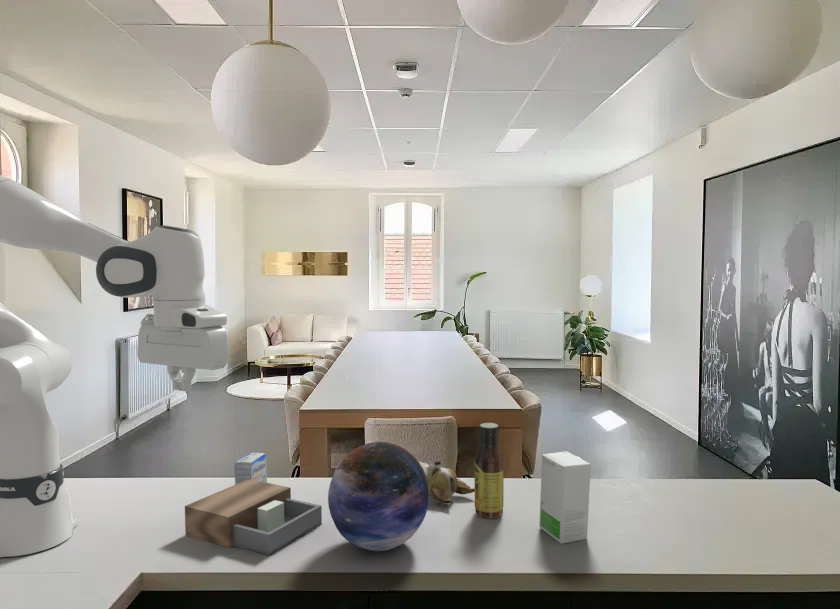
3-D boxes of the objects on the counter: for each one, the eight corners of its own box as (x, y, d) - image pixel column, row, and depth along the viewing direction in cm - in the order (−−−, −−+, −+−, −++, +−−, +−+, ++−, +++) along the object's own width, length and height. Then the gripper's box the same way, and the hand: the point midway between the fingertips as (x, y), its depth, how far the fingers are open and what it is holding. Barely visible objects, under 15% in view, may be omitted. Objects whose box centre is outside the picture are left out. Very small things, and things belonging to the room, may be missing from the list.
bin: (233, 545, 120) (233, 525, 120) (288, 516, 134) (287, 498, 134) (269, 555, 116) (269, 534, 116) (321, 524, 130) (321, 505, 130)
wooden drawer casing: (185, 535, 125) (184, 506, 124) (249, 504, 141) (248, 478, 140) (229, 547, 119) (229, 517, 119) (291, 514, 135) (290, 487, 135)
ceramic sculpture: (431, 448, 154) (479, 465, 144) (429, 482, 155) (477, 501, 145) (401, 459, 146) (450, 477, 136) (399, 494, 147) (448, 515, 137)
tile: (257, 508, 124) (266, 510, 123) (274, 500, 128) (284, 502, 127) (257, 532, 124) (267, 535, 123) (275, 523, 129) (284, 526, 128)
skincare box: (538, 528, 128) (539, 453, 127) (566, 523, 130) (566, 450, 129) (562, 545, 120) (562, 465, 119) (590, 539, 122) (591, 461, 121)
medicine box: (252, 499, 144) (251, 462, 143) (234, 498, 145) (233, 461, 144) (267, 487, 152) (266, 452, 151) (250, 486, 153) (249, 451, 152)
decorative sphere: (307, 557, 115) (306, 451, 114) (363, 518, 133) (363, 426, 132) (398, 580, 107) (398, 465, 105) (445, 535, 125) (445, 436, 123)
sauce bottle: (478, 507, 139) (478, 419, 138) (506, 510, 137) (506, 421, 136) (470, 518, 133) (471, 426, 132) (499, 522, 131) (500, 429, 129)
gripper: (127, 314, 116) (129, 388, 116) (206, 318, 106) (208, 398, 107) (155, 312, 121) (157, 382, 122) (233, 315, 112) (235, 392, 112)
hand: (182, 390), depth 114 cm, fingers closed
